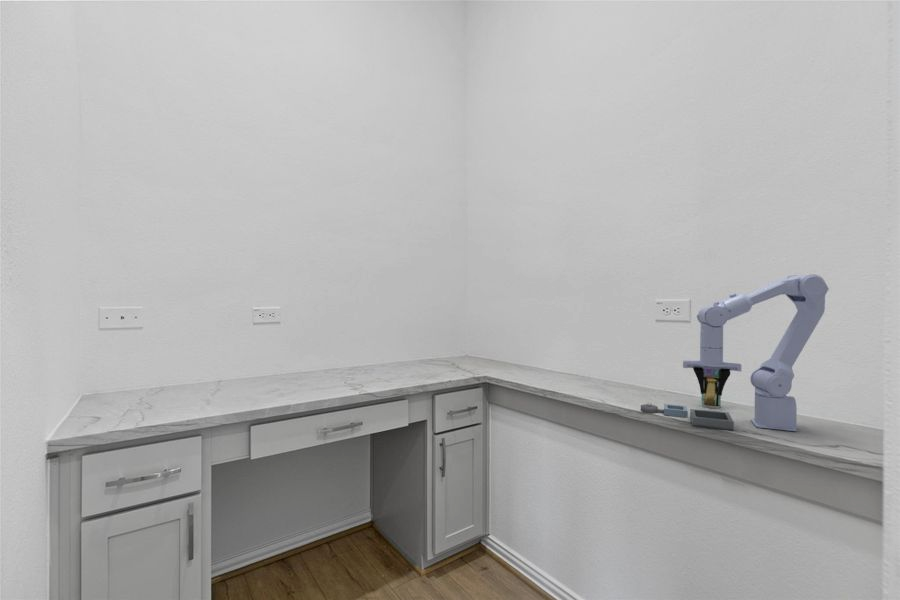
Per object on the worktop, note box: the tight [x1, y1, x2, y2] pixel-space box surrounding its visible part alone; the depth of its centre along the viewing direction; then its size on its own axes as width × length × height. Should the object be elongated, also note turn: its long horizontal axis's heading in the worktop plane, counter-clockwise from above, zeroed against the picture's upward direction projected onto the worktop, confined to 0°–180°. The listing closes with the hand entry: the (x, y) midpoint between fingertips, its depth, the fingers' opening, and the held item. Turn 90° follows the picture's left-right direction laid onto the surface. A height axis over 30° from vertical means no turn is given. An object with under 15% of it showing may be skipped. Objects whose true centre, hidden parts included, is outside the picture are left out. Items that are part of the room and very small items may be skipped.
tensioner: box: [640, 402, 689, 418], centre depth 141 cm, size 13×6×2 cm, turn 65°
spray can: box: [701, 366, 722, 410], centre depth 148 cm, size 6×6×20 cm
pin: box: [703, 376, 719, 406], centre depth 130 cm, size 4×4×8 cm
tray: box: [689, 408, 735, 431], centre depth 130 cm, size 10×10×2 cm
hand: (711, 394), depth 130 cm, fingers closed on pin, 4 cm apart
